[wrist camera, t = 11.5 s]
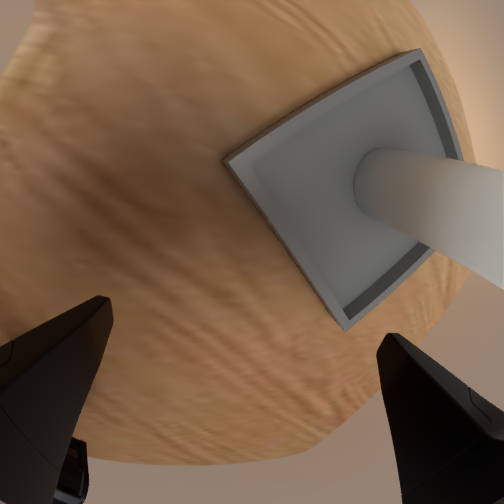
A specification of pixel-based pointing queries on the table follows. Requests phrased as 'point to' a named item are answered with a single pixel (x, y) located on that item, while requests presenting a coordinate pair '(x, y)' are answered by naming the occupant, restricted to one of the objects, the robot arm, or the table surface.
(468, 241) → the candle
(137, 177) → the table surface
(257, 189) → the tray
